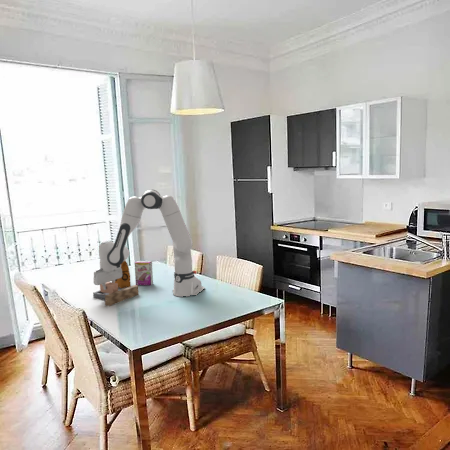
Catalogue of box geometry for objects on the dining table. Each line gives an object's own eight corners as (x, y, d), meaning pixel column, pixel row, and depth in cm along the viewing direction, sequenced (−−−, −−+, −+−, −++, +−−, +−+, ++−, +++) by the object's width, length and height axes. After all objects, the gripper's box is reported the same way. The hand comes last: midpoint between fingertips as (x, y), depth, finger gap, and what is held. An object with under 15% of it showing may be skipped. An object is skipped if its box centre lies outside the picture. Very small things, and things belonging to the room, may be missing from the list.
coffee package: (118, 289, 259) (116, 257, 256) (112, 285, 269) (110, 254, 266) (132, 286, 265) (131, 255, 262) (125, 282, 275) (124, 252, 272)
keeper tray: (107, 292, 254) (106, 287, 253) (125, 296, 245) (125, 291, 244) (93, 297, 245) (93, 292, 244) (111, 301, 236) (111, 296, 235)
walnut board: (135, 293, 249) (134, 284, 248) (138, 294, 247) (138, 285, 247) (105, 305, 229) (104, 295, 228) (109, 306, 227) (108, 296, 227)
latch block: (105, 290, 249) (104, 281, 248) (118, 292, 243) (117, 283, 242) (100, 291, 246) (99, 282, 245) (113, 294, 239) (112, 285, 239)
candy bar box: (135, 285, 267) (134, 262, 265) (137, 283, 272) (136, 260, 270) (151, 285, 266) (150, 262, 264) (153, 283, 271) (152, 260, 269)
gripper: (97, 271, 232) (98, 293, 234) (123, 263, 249) (124, 284, 251) (90, 270, 235) (92, 292, 237) (116, 262, 252) (117, 283, 254)
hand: (109, 288), depth 244 cm, fingers closed on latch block, 4 cm apart
